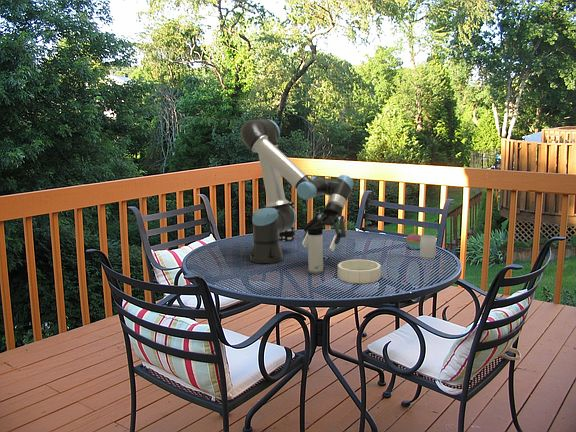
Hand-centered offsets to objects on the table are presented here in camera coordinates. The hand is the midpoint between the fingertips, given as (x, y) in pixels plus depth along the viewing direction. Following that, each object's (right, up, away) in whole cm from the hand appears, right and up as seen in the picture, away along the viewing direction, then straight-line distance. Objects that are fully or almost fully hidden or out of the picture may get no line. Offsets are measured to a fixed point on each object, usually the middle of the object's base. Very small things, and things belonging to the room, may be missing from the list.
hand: (317, 247), depth 227 cm
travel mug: (0, -11, +3) cm, 11 cm away
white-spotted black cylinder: (-13, 0, +62) cm, 63 cm away
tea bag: (+52, -6, +23) cm, 57 cm away
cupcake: (+50, -3, +39) cm, 63 cm away
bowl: (+17, -12, -5) cm, 21 cm away
